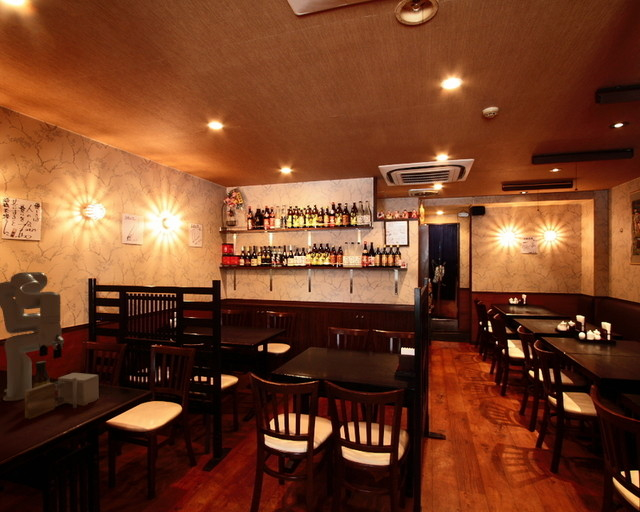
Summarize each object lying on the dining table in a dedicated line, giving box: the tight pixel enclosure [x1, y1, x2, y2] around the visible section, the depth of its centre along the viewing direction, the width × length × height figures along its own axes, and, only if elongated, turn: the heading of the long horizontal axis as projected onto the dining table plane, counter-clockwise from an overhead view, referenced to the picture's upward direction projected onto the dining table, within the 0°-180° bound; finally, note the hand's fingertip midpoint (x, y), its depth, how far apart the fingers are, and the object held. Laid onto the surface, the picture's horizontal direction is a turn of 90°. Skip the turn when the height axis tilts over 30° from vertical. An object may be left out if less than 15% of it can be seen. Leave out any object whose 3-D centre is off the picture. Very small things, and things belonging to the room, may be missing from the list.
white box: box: [57, 372, 100, 409], centre depth 172 cm, size 16×12×14 cm
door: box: [24, 380, 66, 420], centre depth 162 cm, size 4×15×12 cm, turn 165°
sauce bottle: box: [32, 360, 51, 388], centre depth 172 cm, size 7×6×20 cm
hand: (50, 356), depth 162 cm, fingers open, 9 cm apart
